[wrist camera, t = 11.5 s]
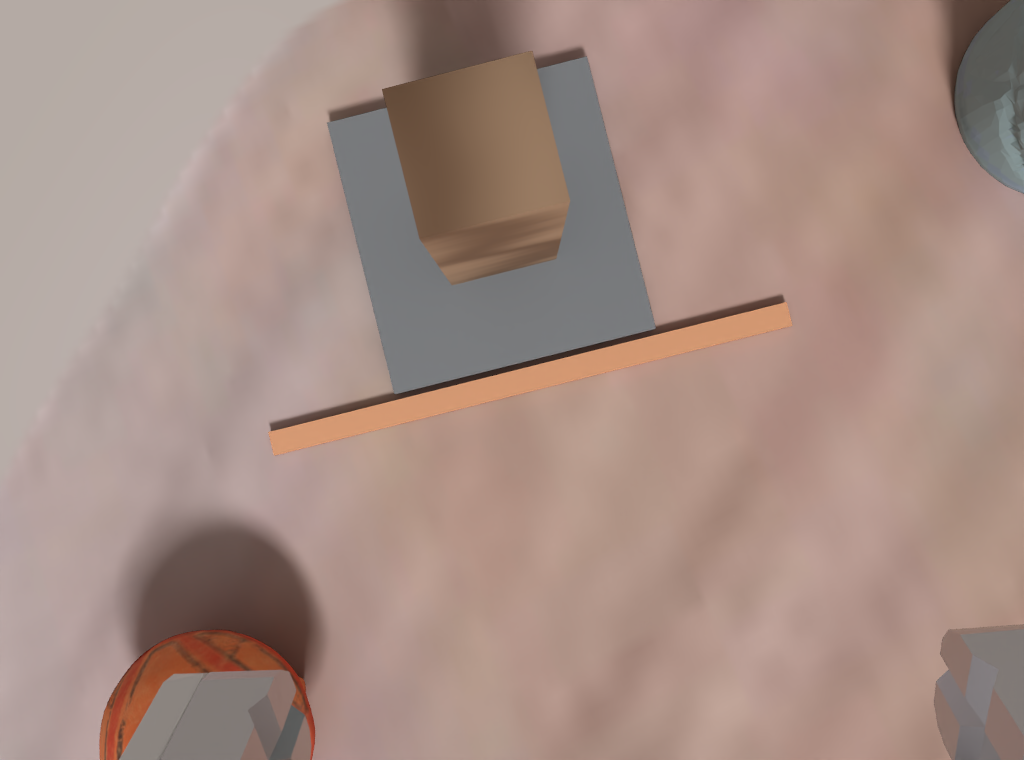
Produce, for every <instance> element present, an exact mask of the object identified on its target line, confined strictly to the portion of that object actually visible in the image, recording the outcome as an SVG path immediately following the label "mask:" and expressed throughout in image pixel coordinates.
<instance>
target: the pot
mask: <svg viewBox="0 0 1024 760" xmlns="http://www.w3.org/2000/svg"><path fill="white" fill-rule="evenodd" d="M257 670H285V671H288V672H290V675H291V677H292V680H293V682H294V685H295V687H296V693H295V696H294V699H293V702H292V704H291V705H293V706H294V707H295V708H297V709H298V710H299V711H300V712H302V713H303V714H304V715H305V716H306V720H307V723H308V726H309V729H310V738H311V757H310V760H312V756H313V750H314V744H315V726H314V721H313V716H312V712H311V708H310V705H309V701H308V699H307V696H306V693H305V692H306V687H305V682H304V680H303V678H301V677H298V676H297V674H296V673H295V671H294V670H293V668H292V667H291V666H290V665H289V664H288V663H287V661H286V660H285V659H283V658H282V657H281V656H280V655H279V654H278V653H277V652H276V651H275V650H273V649H272V648H270V647H269V646H267V645H266V644H264V643H262V642H260V641H259V640H256V639H254V638H252V637H250V636H247V635H244V634H240V633H236V632H233V631H228V630H200V631H192V632H187V633H183V634H179V635H175V636H173V637H170V638H168V639H166V640H164V641H162V642H160V643H159V644H157V645H155V646H153V647H152V648H151V649H149V650H148V651H146V652H145V653H144V654H143V655H142V656H140V657H139V658H138V659H137V660H136V661H135V662H134V663H133V664H132V665H131V667H130V668H129V669H128V670H127V672H126V673H125V674H124V676H123V677H122V679H121V680H120V682H119V683H118V685H117V686H116V688H115V689H114V691H113V693H112V695H111V697H110V699H109V701H108V703H107V706H106V709H105V711H104V715H103V719H102V724H101V731H100V760H119V759H120V757H121V756H122V754H123V752H124V750H125V749H126V747H127V745H128V743H129V742H130V740H131V738H132V736H133V735H134V733H135V731H136V729H137V727H138V726H139V724H140V722H141V720H142V719H143V717H144V715H145V713H146V712H147V710H148V708H149V706H150V705H151V703H152V701H153V699H154V698H155V696H156V694H157V692H158V691H159V689H160V687H161V685H162V684H163V682H164V681H166V680H167V679H168V678H169V677H171V676H172V675H173V674H187V673H210V672H226V671H257Z"/></svg>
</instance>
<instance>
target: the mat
mask: <svg viewBox="0 0 1024 760" xmlns="http://www.w3.org/2000/svg"><path fill="white" fill-rule="evenodd" d="M537 71H538V75H539V79H540V83H541V87H542V91H543V95H544V99H545V103H546V107H547V111H548V115H549V119H550V123H551V127H552V131H553V135H554V139H555V143H556V146H557V150H558V154H559V158H560V162H561V166H562V170H563V174H564V178H565V182H566V186H567V190H568V194H569V198H570V204H569V208H568V212H567V216H566V220H565V225H564V229H563V233H562V237H561V241H560V245H559V250H558V254H557V258H556V259H554V260H551V261H547V262H543V263H539V264H535V265H531V266H527V267H523V268H519V269H515V270H511V271H507V272H503V273H499V274H495V275H491V276H487V277H483V278H479V279H476V280H472V281H468V282H464V283H460V284H456V285H451V283H450V282H449V281H448V279H447V278H446V276H445V275H444V273H443V272H442V271H441V269H440V268H439V266H438V265H437V263H436V262H435V261H434V259H433V258H432V256H431V255H430V253H429V252H428V251H427V249H426V248H425V246H424V245H423V243H422V242H421V241H420V239H419V235H418V231H417V227H416V223H415V219H414V215H413V211H412V207H411V203H410V199H409V195H408V191H407V187H406V183H405V179H404V175H403V171H402V167H401V163H400V159H399V155H398V151H397V147H396V143H395V139H394V135H393V131H392V127H391V123H390V119H389V115H388V111H387V108H383V109H379V110H375V111H371V112H368V113H364V114H360V115H356V116H352V117H348V118H344V119H340V120H336V121H332V122H328V123H327V124H328V128H329V132H330V136H331V140H332V144H333V148H334V153H335V157H336V161H337V165H338V169H339V173H340V177H341V181H342V185H343V189H344V193H345V197H346V201H347V205H348V209H349V213H350V217H351V221H352V225H353V229H354V233H355V237H356V241H357V245H358V249H359V253H360V257H361V261H362V265H363V269H364V273H365V277H366V281H367V286H368V290H369V294H370V298H371V302H372V306H373V310H374V314H375V318H376V322H377V326H378V330H379V334H380V338H381V342H382V346H383V350H384V354H385V358H386V362H387V366H388V370H389V374H390V378H391V382H392V386H393V390H394V394H398V393H402V392H406V391H410V390H414V389H418V388H422V387H426V386H430V385H434V384H438V383H442V382H446V381H450V380H454V379H458V378H462V377H466V376H470V375H474V374H478V373H482V372H486V371H490V370H494V369H498V368H502V367H506V366H510V365H514V364H518V363H522V362H526V361H530V360H534V359H538V358H542V357H546V356H550V355H554V354H558V353H562V352H566V351H570V350H574V349H578V348H582V347H586V346H590V345H594V344H598V343H602V342H606V341H610V340H614V339H618V338H621V337H625V336H629V335H633V334H637V333H641V332H645V331H649V330H653V329H656V327H655V323H654V319H653V315H652V311H651V307H650V304H649V300H648V296H647V292H646V288H645V284H644V280H643V276H642V272H641V268H640V264H639V260H638V256H637V252H636V248H635V244H634V241H633V237H632V233H631V229H630V225H629V221H628V217H627V213H626V209H625V205H624V201H623V197H622V193H621V189H620V185H619V181H618V178H617V174H616V170H615V166H614V162H613V158H612V154H611V150H610V146H609V142H608V138H607V134H606V130H605V126H604V122H603V118H602V114H601V111H600V107H599V103H598V99H597V95H596V91H595V87H594V83H593V79H592V75H591V71H590V67H589V63H588V59H587V56H586V57H583V58H579V59H575V60H571V61H567V62H563V63H559V64H555V65H551V66H547V67H543V68H540V69H537Z"/></svg>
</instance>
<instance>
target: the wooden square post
mask: <svg viewBox="0 0 1024 760" xmlns="http://www.w3.org/2000/svg"><path fill="white" fill-rule="evenodd" d="M382 91H383V95H384V99H385V103H386V107H387V111H388V115H389V119H390V123H391V127H392V131H393V135H394V139H395V143H396V147H397V151H398V155H399V159H400V163H401V167H402V171H403V175H404V179H405V183H406V187H407V191H408V195H409V199H410V203H411V207H412V211H413V215H414V219H415V223H416V227H417V231H418V235H419V239H420V241H421V242H422V243H423V245H424V246H425V248H426V249H427V251H428V252H429V253H430V255H431V256H432V258H433V259H434V261H435V262H436V263H437V265H438V266H439V268H440V269H441V271H442V272H443V273H444V275H445V276H446V278H447V279H448V281H449V282H450V283H451V285H456V284H460V283H464V282H468V281H472V280H476V279H479V278H483V277H487V276H491V275H495V274H499V273H503V272H507V271H511V270H515V269H519V268H523V267H527V266H531V265H535V264H539V263H543V262H547V261H551V260H554V259H556V258H557V254H558V250H559V245H560V241H561V237H562V233H563V229H564V225H565V220H566V216H567V212H568V208H569V204H570V198H569V194H568V190H567V186H566V182H565V178H564V174H563V170H562V166H561V162H560V158H559V154H558V150H557V146H556V143H555V139H554V135H553V131H552V127H551V123H550V119H549V115H548V111H547V107H546V103H545V99H544V95H543V91H542V87H541V83H540V79H539V75H538V71H537V68H536V64H535V60H534V56H533V52H532V51H529V52H525V53H521V54H517V55H513V56H509V57H506V58H502V59H498V60H494V61H490V62H486V63H482V64H478V65H474V66H470V67H467V68H463V69H459V70H455V71H451V72H447V73H443V74H439V75H435V76H432V77H428V78H424V79H420V80H416V81H412V82H408V83H404V84H400V85H396V86H393V87H389V88H385V89H382Z"/></svg>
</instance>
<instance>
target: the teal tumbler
mask: <svg viewBox="0 0 1024 760" xmlns="http://www.w3.org/2000/svg"><path fill="white" fill-rule="evenodd" d="M955 114H956V118H957V122H958V126H959V130H960V133H961V135H962V138H963V140H964V143H965V144H966V146H967V148H968V149H969V151H970V153H971V154H972V155H973V157H974V158H975V159H976V160H977V162H978V163H979V164H980V166H981V167H982V168H983V169H985V170H986V171H987V172H988V173H989V174H990V175H991V176H993V177H994V178H995V179H997V180H998V181H999V182H1001V183H1002V184H1004V185H1005V186H1007V187H1009V188H1011V189H1014V190H1016V191H1018V192H1021V193H1023V194H1024V0H1010V1H1009V2H1008V3H1007V4H1006V5H1005V6H1004V7H1003V8H1002V9H1000V10H999V11H998V12H997V13H996V14H995V15H994V16H993V17H992V18H991V19H990V20H989V21H987V23H986V24H985V25H984V26H983V27H982V28H981V29H980V31H979V32H978V33H977V34H976V35H975V37H974V38H973V40H972V41H971V43H970V45H969V47H968V49H967V51H966V53H965V55H964V57H963V60H962V62H961V65H960V67H959V70H958V73H957V80H956V86H955Z"/></svg>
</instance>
